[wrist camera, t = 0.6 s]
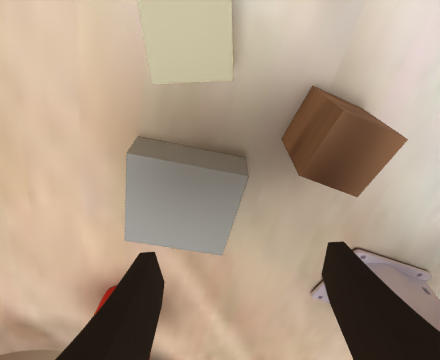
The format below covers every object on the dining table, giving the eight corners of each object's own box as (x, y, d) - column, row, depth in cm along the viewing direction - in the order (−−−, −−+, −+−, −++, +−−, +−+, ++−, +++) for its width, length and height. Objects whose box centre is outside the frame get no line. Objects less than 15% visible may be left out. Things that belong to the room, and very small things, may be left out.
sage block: (228, -14, 14) (231, -23, 10) (230, 66, 16) (233, 80, 13) (154, -10, 14) (133, -17, 11) (166, 69, 16) (152, 84, 13)
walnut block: (362, 108, 17) (407, 139, 13) (327, 157, 19) (357, 197, 15) (312, 85, 17) (343, 110, 12) (281, 138, 19) (299, 175, 14)
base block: (245, 155, 20) (248, 176, 17) (222, 230, 24) (222, 255, 21) (139, 134, 19) (126, 153, 16) (135, 215, 23) (124, 240, 21)
